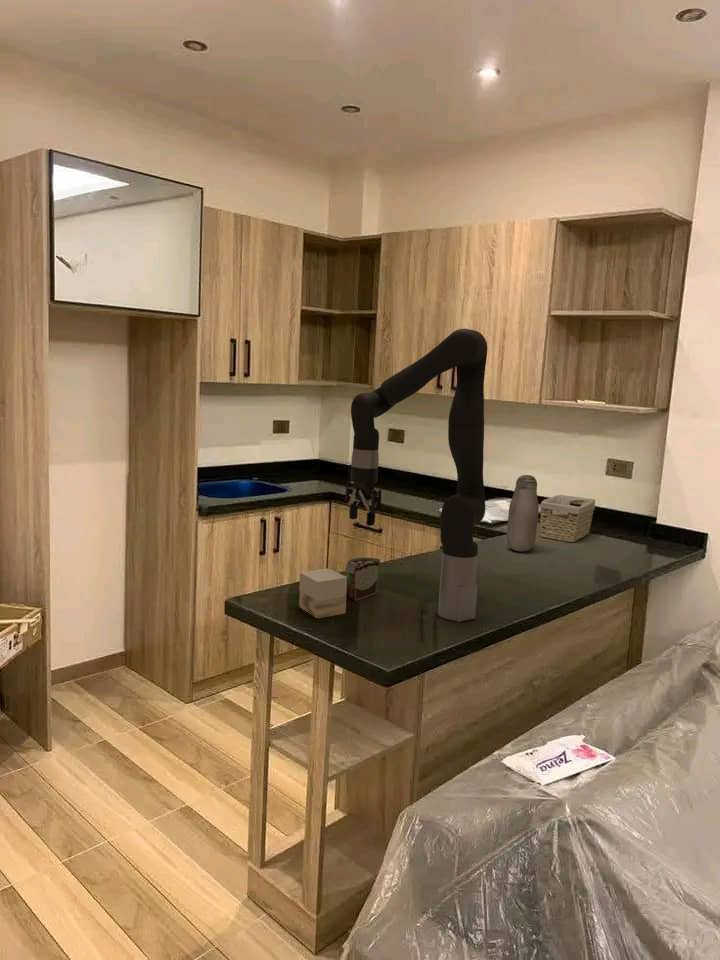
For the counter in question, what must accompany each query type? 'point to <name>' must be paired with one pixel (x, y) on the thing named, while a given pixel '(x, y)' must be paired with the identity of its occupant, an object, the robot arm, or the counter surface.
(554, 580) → the counter surface
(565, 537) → the storage basket
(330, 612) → the tower base block
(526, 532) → the grey bottle
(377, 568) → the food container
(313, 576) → the tower top block
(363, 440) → the robot arm
